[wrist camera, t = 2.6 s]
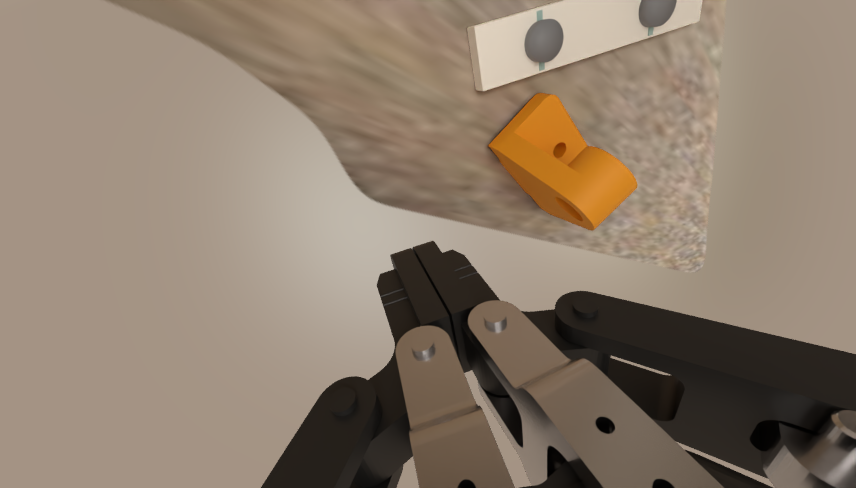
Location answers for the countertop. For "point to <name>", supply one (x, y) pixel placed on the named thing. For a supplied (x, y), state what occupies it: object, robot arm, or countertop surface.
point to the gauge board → (567, 34)
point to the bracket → (561, 164)
